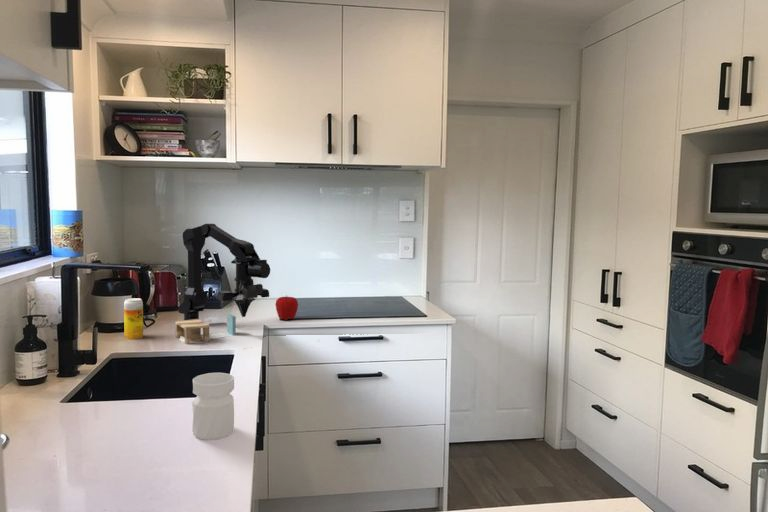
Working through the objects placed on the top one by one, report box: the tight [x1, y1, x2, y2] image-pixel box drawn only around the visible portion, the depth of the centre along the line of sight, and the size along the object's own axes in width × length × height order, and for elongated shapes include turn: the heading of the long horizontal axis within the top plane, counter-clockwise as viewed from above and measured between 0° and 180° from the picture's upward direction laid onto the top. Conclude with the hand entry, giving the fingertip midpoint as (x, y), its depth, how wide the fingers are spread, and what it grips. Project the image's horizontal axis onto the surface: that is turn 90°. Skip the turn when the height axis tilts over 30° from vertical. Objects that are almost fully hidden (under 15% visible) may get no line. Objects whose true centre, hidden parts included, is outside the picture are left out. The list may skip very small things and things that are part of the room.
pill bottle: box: [191, 372, 235, 441], centre depth 117 cm, size 9×9×12 cm
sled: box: [178, 313, 237, 343], centre depth 194 cm, size 6×19×8 cm, turn 129°
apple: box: [275, 295, 299, 321], centre depth 233 cm, size 10×10×11 cm
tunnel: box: [174, 318, 210, 345], centre depth 191 cm, size 12×8×7 cm
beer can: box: [123, 297, 144, 340], centre depth 191 cm, size 6×6×15 cm
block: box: [184, 328, 202, 342], centre depth 191 cm, size 4×4×4 cm
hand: (243, 316), depth 203 cm, fingers closed
